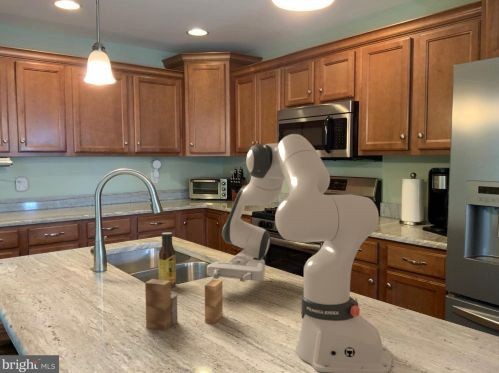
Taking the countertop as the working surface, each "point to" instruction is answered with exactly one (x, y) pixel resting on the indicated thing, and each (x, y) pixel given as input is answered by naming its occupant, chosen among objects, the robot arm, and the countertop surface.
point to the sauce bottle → (167, 259)
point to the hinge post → (160, 304)
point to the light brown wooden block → (213, 301)
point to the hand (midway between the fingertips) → (228, 277)
